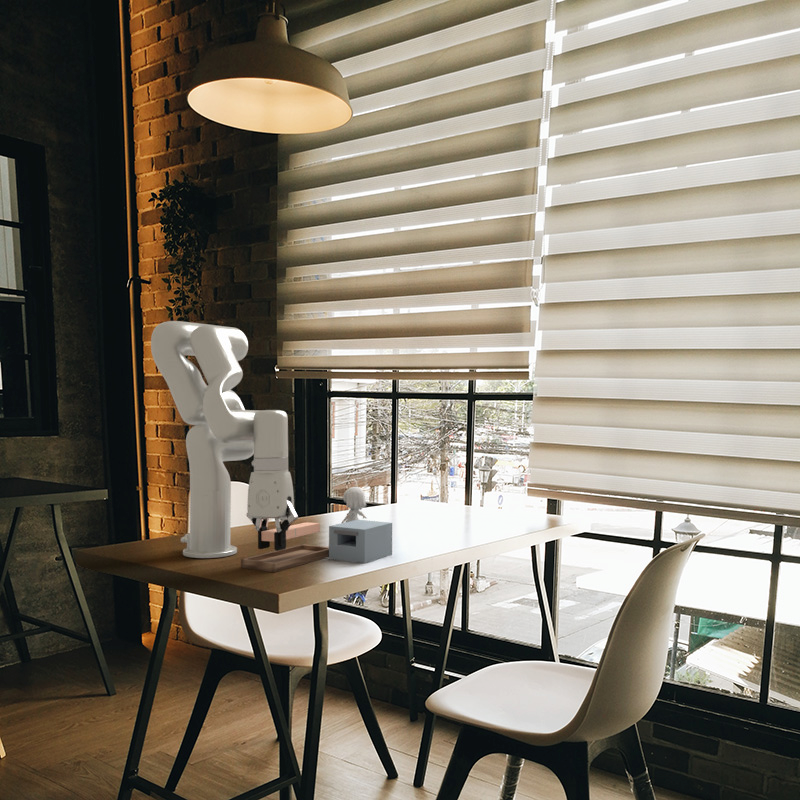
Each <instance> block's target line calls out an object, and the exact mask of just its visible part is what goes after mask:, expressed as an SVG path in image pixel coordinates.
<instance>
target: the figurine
mask: <svg viewBox="0 0 800 800" xmlns="http://www.w3.org/2000/svg"><path fill="white" fill-rule="evenodd" d="M342 498H343V502H344V503H346V508H345V510H347V509H348V508H349V510H348V512H347V513H346V515H345V517H344V519H343V520H342V521H341V523H345V522H350V521H354V520H360V519H359V517H358V515H359V516H361V517H362V519H367V517H366V516H365V514H364V513H363V511H362V509H364V508H365V507H367V503H366V501H367V500H366V495H365V492H364V490H363V489H362V488H361V487H358V486H352V487H350V488H347V489H346V490H345V491H344V493H343V496H342Z"/></svg>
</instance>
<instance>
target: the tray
mask: <svg viewBox="0 0 800 800" xmlns="http://www.w3.org/2000/svg"><path fill="white" fill-rule="evenodd" d="M327 558H329V546H321V545H314V544H303V543H302V544H299V545H294V546H290V547H286V549H283V550H279V551H275V550H273V551H269V552H265V553H261V554H258V555H253V556H250V557H244V558H241V559H240V569H241V568H242V569H249V570H254V571H260V572H261V571H262V572H270V573H277V572H281V571H284V570H288V569H291V568H295V567H299V566H302V565H305V564H309V563H314V562H316V561H320V560H324V559H327Z"/></svg>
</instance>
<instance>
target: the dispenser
mask: <svg viewBox="0 0 800 800" xmlns="http://www.w3.org/2000/svg"><path fill="white" fill-rule="evenodd" d="M328 547H329V557H328V559H329V560H336V561H344V562H350V563H351V562H352V563H360V564H367V563H370V562H374V561H377V560H380V559H382V558H383V559H384V558H385V557H388V556H392V555H393V522H389V521H387V522H386V521H375V520H364V519H359V520H354V521H350V522H346V521H345V522H344V523H342V522H340V523H337V524H331V525H329V526H328Z"/></svg>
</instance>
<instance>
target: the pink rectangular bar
mask: <svg viewBox="0 0 800 800" xmlns="http://www.w3.org/2000/svg"><path fill="white" fill-rule="evenodd" d="M320 526H321V525H320V523H319V522H308V521H307V522H302V523H297V524H291V525H290V527H289V529H288V531H286V540H290V539H294V538H299V537H303V536H307V535H311V534H315V533H320V528H321V527H320ZM275 532H277V531H276V528H272V529H269V530H266V531H262V532H261V541H270V543H272V542H273V543H274V533H275Z"/></svg>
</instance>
